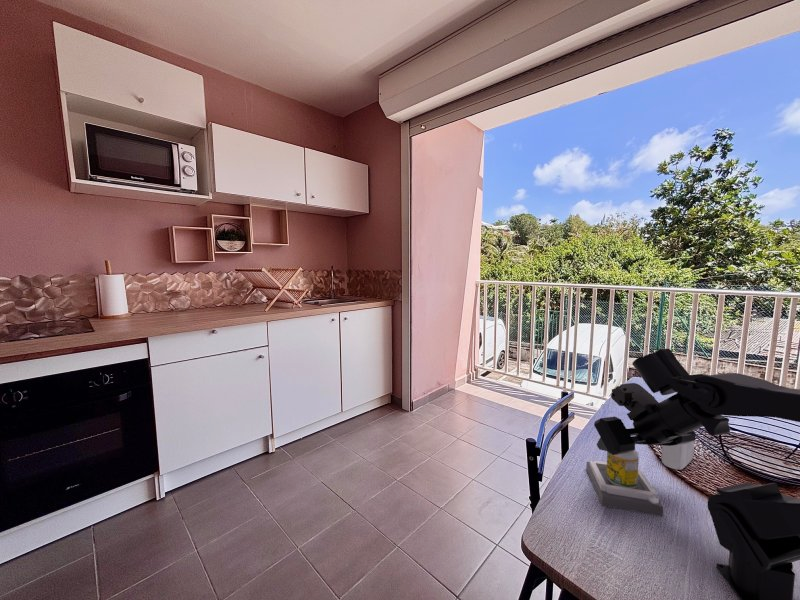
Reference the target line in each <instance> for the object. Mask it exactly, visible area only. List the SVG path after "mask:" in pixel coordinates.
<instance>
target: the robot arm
mask: <svg viewBox="0 0 800 600" xmlns="http://www.w3.org/2000/svg"><path fill="white" fill-rule="evenodd" d="M632 365H633V367H634V369H635V370H636V372H637V373H638V374H639V376H640V377H641V379H642V380H643V382H645V384H646V386H647V387H648V389H649V390H650V391H651V392H652V393H653V394H656V393H658V392H659V393H660V395H661V396H667V395H670V396H669V397H667V398H665V399H663V400H662V401H660V402H658V400H656V397H655V396H654V395H652V394H651V393H650V392H649V391H648V390H647V389H646V388H644V387H643V386H641V384H638V383H636V382H631V383H629V382H628V383H621V384H620V385H617V386H616V387H615V388H613V389H611V393H610V397H611V399H612V400H613V401H614V402H615V403H616V404H617V405H618V406H619V407H624V408H625V409H626V410H627V411H629V412H627V413H626V415H627V417H628V419H629V420H630V421H632V426H633V427H632V428H627V427H626V425H625V424H624V422H623V421H622V419H621V418H619V417H617V416H615V415H614V416H608V417H601V418H599V419H597V420H595V421H594V424H593V426H594V427H595V430H596V431H597V433H598V435H599V438H598V441H597V443H596V446H597V449H599V450H600V451H605V452H607V451H608V452H609V453H611V454H612V455H617V454H624V453H628V452H631V451H633V450H636V445H646V446H649V447H650V446H651V447H652V446H661V447H662V446H673V445H679V444H685V443H689V442H692V441H694V442H695V441H696V438H697V437H696V436H697V433H696V432H694V431H693V430H695V431H696V430H697V429H701V428H702V427H703V428H704V429H705V430H706V432H707V434H709V435H710V436H712V437H713V436H720V435H725V434H726V435H727V434H730V433H731V430H730V429H731V428H730V424H729V422H730V418H728V417H727V416H729V417H730V416H731V417H760V418H761V417H762V418H763V417H764V418H774V419H775V418H776V419H780V420H781V419H782V420H787V421H792V422H796V423H800V389H799V388H792V387H788V386H782V385H779V384H776V383H773V382H771V381H769V380H765V379H763V378H759V377H754V376H751V375H748V374H743V373H738V372H730V373H729V372H727V373H719V374H704V373H699V374H698V373H696V374H690V373H689V372H688V371H687V370H686V369H685V367H684V366H683V365H682V364H681V363H680V361H679V360H678V359H677V357H676V355H675V354H674V351H672V350H671V349H670V348H660V349H658V350H656V351H655V352H651V353H649V354H648V353H647V354H646V355H643V356H639V357H637V358H636V359H635V360H633V361H632ZM671 394H673V395H671ZM725 416H726V417H725ZM715 491H716V492H717V493H715V494H710V495H709V496H708V498H707V499H708V500H707V503H706V504H707V509H708V513H709V514H710V516H711V520H712V524H713V526H714V531H715V533H716V537H717V539H718V540H717V541H718V543H719V545H720V546H721V547H723V548H724V549H726V550H727V551H729V556H728V565H727V564H723V563H719V562H718V563H716V564H715V565H716V566H715V567H716V569H717V570H718V571H719V573H720V574H721V576H722V577H723V578H724V579H725V581H726V583H727V584H728V585H729V587H730V588H731V589H732V590H733V592H734V593H735V595H736V596H737V597H738V599H739V600H794V591H795V590H794V588H795V580H796V574H795V572H794V571H793V569H794V565H793V563H795V562H797V561H800V498H798V497H794V496H793V497H792V496H790V495H787V494H785V493H782V492H781V490H780V488H779V486H778V484H777V482H771V483H767V484H755V483H752V482H749V481H748V482H743V483H739V484H734V485H727V486H724V487H719V488H716V489H715Z"/></svg>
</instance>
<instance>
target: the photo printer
mask: <svg viewBox="0 0 800 600" xmlns="http://www.w3.org/2000/svg"><path fill="white" fill-rule="evenodd" d="M693 431H694V432H695V431H696V430H693ZM695 433H696V432H695ZM661 448H662V449H661V463H662V464H663V465H664V466H665V467H667V468H670V469H672V470H676V471H678V470H683V469H684V468H686V467H687V466H688V465H689V464H690V463H691V462H692V461H693V458H694V454H695V453H694V450H695V449H694V448H695V440H694V441H692V442H689V443H685V444H679V445H673V446H662V445H661Z"/></svg>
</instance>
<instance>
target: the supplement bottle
mask: <svg viewBox="0 0 800 600" xmlns="http://www.w3.org/2000/svg"><path fill="white" fill-rule="evenodd" d="M606 452H607V453H606V462H607V479H608V480H609V482H610V483H612V484H613V485H615V486H619V487H625V488H631V489H635V488H636V487H637V485H638V468H639V459H640V458H639V455H640V454H639V453H638V451H637V450H636V449H635V450H633V451H631V452H628V453H624V454H617V455H612V454H611V453H609V452H608V451H606Z"/></svg>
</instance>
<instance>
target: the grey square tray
mask: <svg viewBox="0 0 800 600" xmlns="http://www.w3.org/2000/svg"><path fill="white" fill-rule="evenodd" d="M586 472H587V475H588V477H589V479H590V481H591V484H592V486H593V488H594V491H595V492H596V495H597V497H598V499H599V502H600V504H601V506H602V507H608V508H613V509H614V508H615V509H619V510H625V511H629V512H636V513H641V514H646V515H652V516H657V517H664V505H663V504H662V502H661V501H660V500H659V494H658V492H657V491H656V490H655V488H654V486H653V485H652V484H651V483H650V481H649V480H648V478H647V477H646V476H645V474H644V473H643V471H642V470H641V468H639V467H638V485H637V487H636V488H635V489H631V488H625V487H619V486H615V485H613V484H612V483H610V482H609V480H608V479H607V461H599V460H593V461H592V460H589V461H586Z"/></svg>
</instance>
